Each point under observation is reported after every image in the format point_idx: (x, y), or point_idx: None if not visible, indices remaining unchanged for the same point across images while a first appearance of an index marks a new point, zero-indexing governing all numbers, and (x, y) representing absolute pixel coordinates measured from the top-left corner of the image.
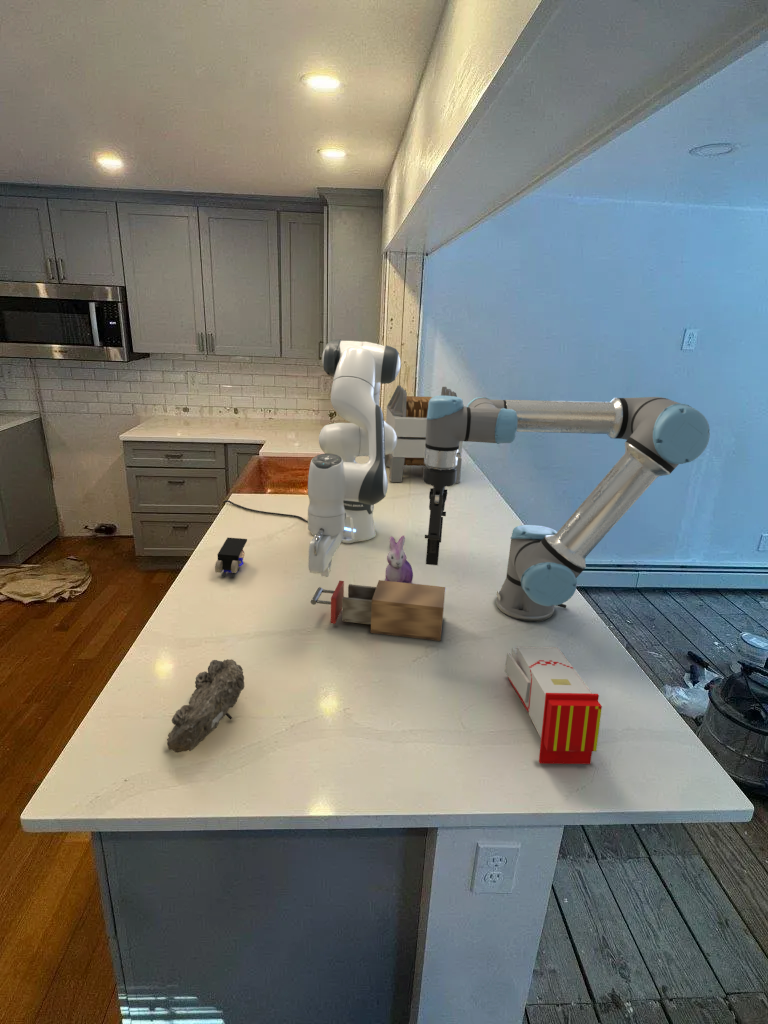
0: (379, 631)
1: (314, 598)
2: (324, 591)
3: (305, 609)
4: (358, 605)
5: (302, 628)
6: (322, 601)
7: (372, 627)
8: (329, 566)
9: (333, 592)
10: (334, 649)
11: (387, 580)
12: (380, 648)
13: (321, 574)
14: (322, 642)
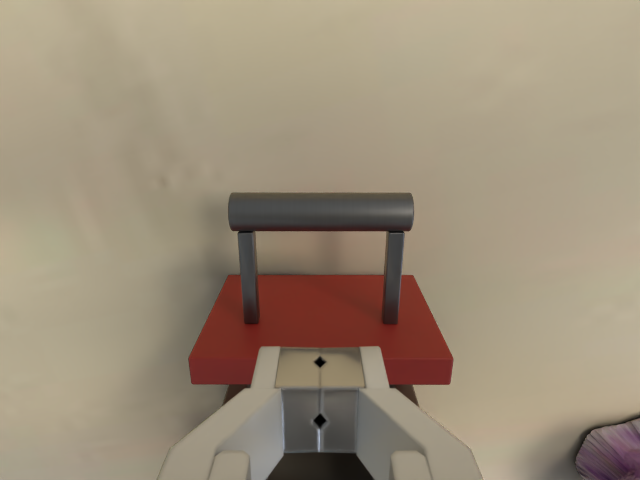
0: None
1: (244, 219)
2: (386, 245)
3: (366, 103)
4: None
5: (177, 143)
6: (241, 268)
7: None
8: (359, 446)
9: (383, 299)
10: (70, 317)
11: (635, 465)
12: (144, 456)
13: (260, 355)
14: (99, 262)
